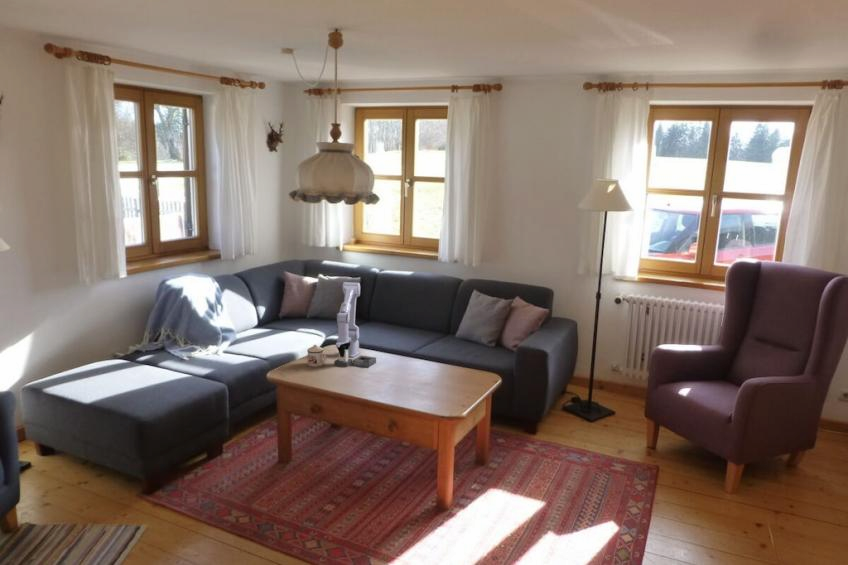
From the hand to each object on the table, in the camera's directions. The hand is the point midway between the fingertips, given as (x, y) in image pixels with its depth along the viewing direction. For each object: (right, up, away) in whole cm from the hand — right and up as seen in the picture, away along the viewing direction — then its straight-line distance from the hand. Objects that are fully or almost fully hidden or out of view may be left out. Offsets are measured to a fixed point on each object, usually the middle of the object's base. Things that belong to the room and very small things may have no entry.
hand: (343, 355), depth 354 cm
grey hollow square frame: (0, -5, +1) cm, 5 cm away
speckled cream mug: (-15, -5, -1) cm, 16 cm away
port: (+12, -5, +3) cm, 13 cm away
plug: (0, -3, +1) cm, 3 cm away
